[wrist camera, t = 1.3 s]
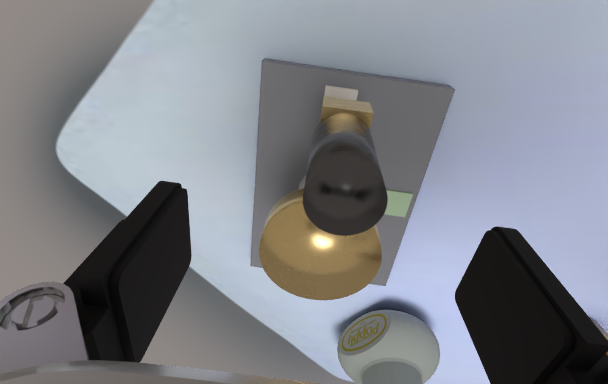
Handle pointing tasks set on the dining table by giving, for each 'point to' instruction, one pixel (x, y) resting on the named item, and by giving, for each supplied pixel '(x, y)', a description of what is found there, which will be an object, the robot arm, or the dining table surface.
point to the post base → (384, 129)
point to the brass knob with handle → (330, 211)
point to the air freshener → (388, 349)
